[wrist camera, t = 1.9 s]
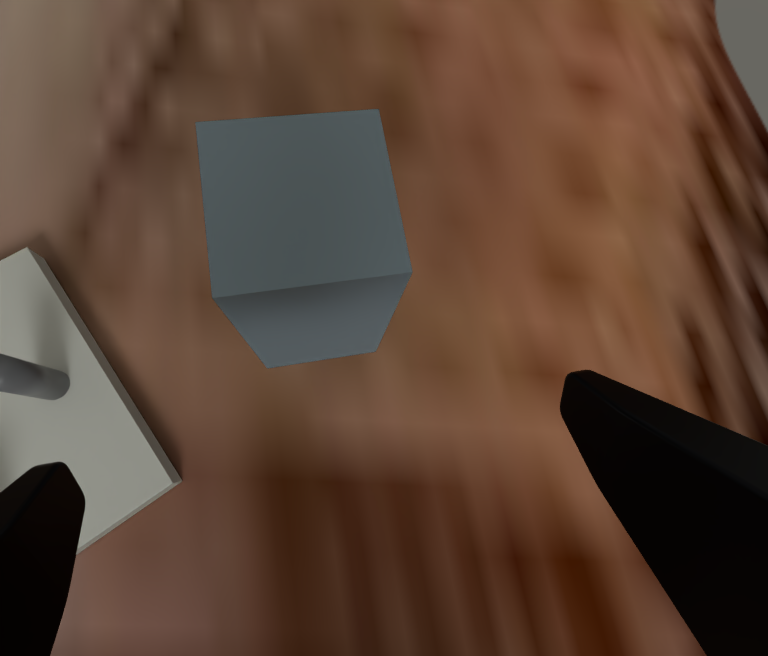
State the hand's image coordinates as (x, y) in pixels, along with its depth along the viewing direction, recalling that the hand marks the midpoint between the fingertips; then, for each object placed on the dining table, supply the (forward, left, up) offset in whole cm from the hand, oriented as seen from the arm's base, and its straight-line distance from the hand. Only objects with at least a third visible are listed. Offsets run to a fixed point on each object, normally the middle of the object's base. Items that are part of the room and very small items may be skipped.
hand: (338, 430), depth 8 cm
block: (+4, -5, -12) cm, 14 cm away
